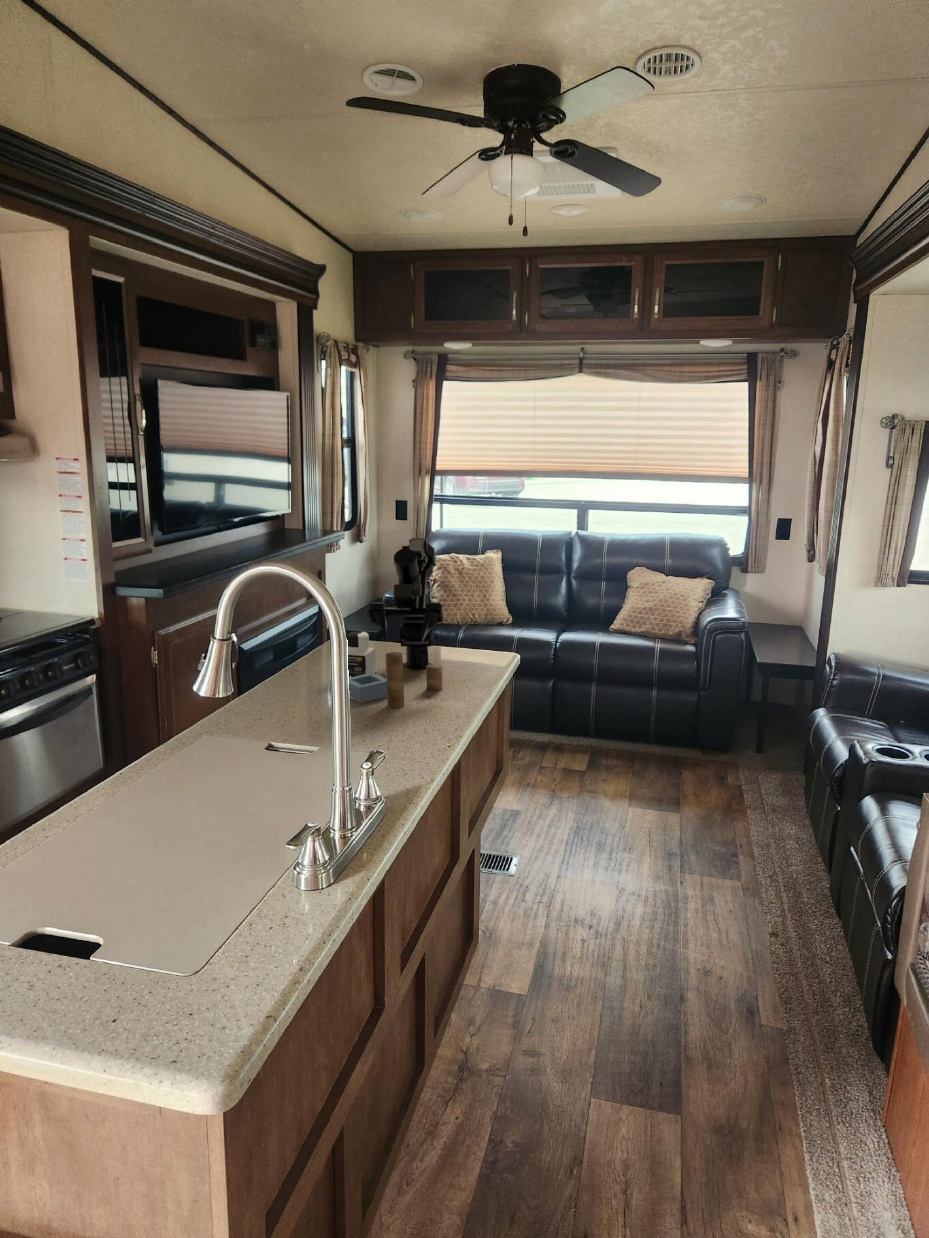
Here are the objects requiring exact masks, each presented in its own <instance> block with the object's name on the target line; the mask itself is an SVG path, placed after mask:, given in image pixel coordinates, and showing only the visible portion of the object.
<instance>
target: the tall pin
mask: <svg viewBox="0 0 929 1238" xmlns="http://www.w3.org/2000/svg"><path fill="white" fill-rule="evenodd" d="M403 663H404V661H403V653H402V652H399V651H391V652H387V653H386V654H385V669H386V670H385V672H386V679H387V697H386V698H387V707H388V708H390V709H401V708H403V706H404V707H405V692H404V690H405V688H404V686H405V685H404V666H403Z"/></svg>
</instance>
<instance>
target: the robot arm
mask: <svg viewBox="0 0 929 1238" xmlns="http://www.w3.org/2000/svg"><path fill="white" fill-rule="evenodd" d="M408 541H409V542H408V545H402V547H401V548H399V550H398V551H396V552H395V553H394V555H393V564H394V567H395V572H396V575H397V577H398V580H397V584H393V596H392V597H393V604H394V605H395V607H386V604H385V603H386V602H371V603H369V604H368V607H367V611H368V615H369V619H370V622H371V623H373V624H375V625H376V626H379V627H380V629H381V631H382V636H383V641H384V642H387V641H388V621H387V620H388V617H392V616H393V617H395V616H396V617H397V616H401V617H403V618H402V623H401V624H400V625H399V640H400V647H401V648H402V647H403V648H404V647H405V650H406V651H405V652H406V653H405V654H406V655H405V656H406V662H403V667H406V668H408V669H411V670H413V671H417V670H420V669H424V668H425V669H426V666H428V665H434V664H433V663H431V662H429V649H428V648H430V647H432V646H435V640H434V639H435V638H434V637H435V636H434V630H433V629H432V628H433V627H435V626H437V625H438V624H441V623H443V622H444V609H443V603H442V602H441V601H440V602H437V601H436V602H435V601H434V602H431V601H430V602H426V601H427V600H426V599H427V598H426V597H427V587H428V586H427V583H428V579H429V578H430V577H431V576H432V575H433V573H434V567H436V564H437V557H436V551H435V547H433V546H432V545H431V544H430V543H428V539H427V538H425V537H411V538H409V539H408Z"/></svg>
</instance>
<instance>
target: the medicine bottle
mask: <svg viewBox="0 0 929 1238" xmlns="http://www.w3.org/2000/svg"><path fill="white" fill-rule="evenodd" d="M346 636H347V640H348V670H349V678H350V676H351V677H355V676H360V675H364V674H369V673H374V674H376V673H377V660H376V658H377V657H376V648H375V647H370V639H369V638H370V635H369V633H368V632H366V631H360V630H359V631H357V630H356V631H351V632H349V633H347V634H346ZM375 672H376V673H375Z"/></svg>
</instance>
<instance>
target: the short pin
mask: <svg viewBox="0 0 929 1238" xmlns="http://www.w3.org/2000/svg"><path fill="white" fill-rule="evenodd" d="M442 667H443V666H442V665H440V664H433V665H428V666H426V667H425V671H426V673H425V675H426V676H425V677H426V680H425V681H426V691H428V692H433V691H435V692H441V691H442V690H443V673H442V672H443V671H442V669H443V668H442Z"/></svg>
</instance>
